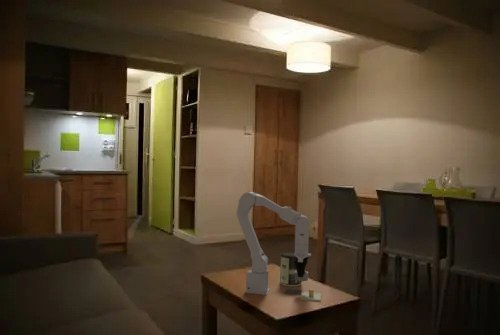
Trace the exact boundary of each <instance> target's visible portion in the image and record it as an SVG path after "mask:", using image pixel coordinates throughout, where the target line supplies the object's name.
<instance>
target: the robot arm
mask: <svg viewBox="0 0 500 335" xmlns="http://www.w3.org/2000/svg"><path fill="white" fill-rule="evenodd" d="M254 206H255V207H256V206H257V207H258V206H261V207H262V206H263V207H265V208H267V209H269V210H271V211H273V212H274V213H277V214H278V216H279V218H280V219H281V220H283V221H285V222H287V223H289V224H290V225H293V226H294V225H295V234H294V243H295V244H294V252H295V253H294V255H295V256H296V260H294V263H295V265H296V268H297V274H298V277H303V276H304V271H306V266H307V264H308V259H309V257H311V256H312V253H309V243H310V242H309V237H310V235H309V231H310V230H309V226H310V220H309V218H308V217H307V216H306V215H305V214H302V212H297V211H296V210H294V209H292V208H293V207H292V206H280V205H279V204H278V203H276V202H274V201H272V200H271V199H268V198H267V197H265V196H264V195H262V194H259V193H256V192H254V191H250V190H249V191H247V192H244V193H243V194H242V195H241V196H240V197H239V199H238V205H237V208H236V209H237V210H236V216H237V219H238V222H239V225H240V228H241V230H242V233H243V235H244V239H245V241H246V244H247V247H248V249H249V251H250V259H251V262H252V263H251V268H252V269H250V270H247V272H246V279H245V293H246V294H247V293H248V294H254V295H263V296H264V295H265V296H266V295H268V293H269V292H270V290H271V288H270V287H269V269H268V267H267V266H268V264H269V258H268V256H267V255H266V254H265V253H264V250H263V249H262V247H261V245H260V242H259V239H258V237H257V234H256V231H255V228H254V226H253V224H252V220H251V218H250V215H249V214H250V212H251V210H252V208H253V207H254Z"/></svg>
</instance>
